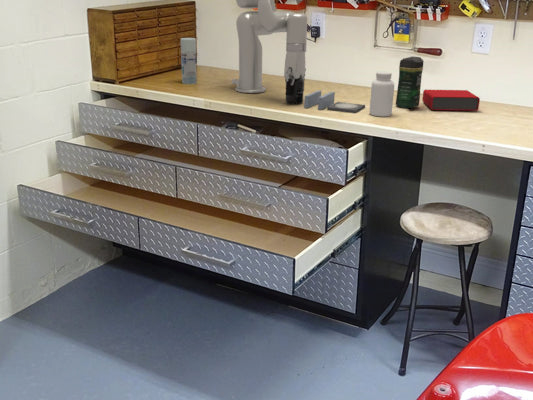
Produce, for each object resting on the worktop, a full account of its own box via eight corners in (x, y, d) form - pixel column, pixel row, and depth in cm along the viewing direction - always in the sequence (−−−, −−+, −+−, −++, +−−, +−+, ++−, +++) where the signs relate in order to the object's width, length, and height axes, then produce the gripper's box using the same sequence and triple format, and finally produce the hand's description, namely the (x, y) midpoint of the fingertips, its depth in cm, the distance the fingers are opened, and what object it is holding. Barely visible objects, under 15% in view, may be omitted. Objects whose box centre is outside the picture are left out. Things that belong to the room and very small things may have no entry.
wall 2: (317, 109, 235) (318, 97, 233) (330, 103, 246) (331, 91, 244) (321, 109, 234) (322, 97, 232) (334, 103, 245) (334, 92, 243)
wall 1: (304, 107, 237) (304, 95, 235) (317, 101, 248) (317, 90, 246) (307, 108, 236) (308, 96, 235) (320, 102, 247) (321, 90, 246)
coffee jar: (412, 109, 236) (417, 59, 230) (392, 107, 241) (396, 57, 234) (422, 105, 244) (427, 56, 237) (402, 102, 248) (407, 54, 242)
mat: (327, 109, 234) (327, 106, 234) (337, 104, 243) (337, 101, 243) (355, 113, 230) (355, 110, 229) (365, 107, 239) (365, 104, 238)
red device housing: (467, 102, 252) (468, 90, 250) (478, 110, 239) (480, 97, 237) (422, 102, 252) (423, 89, 250) (430, 109, 238) (432, 96, 237)
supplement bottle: (301, 105, 242) (302, 73, 237) (284, 104, 243) (284, 72, 239) (304, 101, 248) (305, 70, 244) (287, 100, 249) (287, 69, 245)
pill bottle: (386, 118, 223) (390, 75, 218) (365, 115, 227) (368, 72, 222) (395, 113, 229) (398, 72, 224) (374, 111, 233) (377, 70, 228)
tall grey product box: (180, 84, 278) (178, 38, 271) (194, 83, 281) (192, 37, 274) (184, 87, 273) (183, 39, 266) (199, 86, 276) (197, 39, 269)
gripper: (296, 44, 247) (295, 88, 253) (277, 49, 232) (276, 96, 238) (314, 46, 244) (312, 90, 250) (296, 50, 229) (294, 98, 235)
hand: (294, 93), depth 244 cm, fingers open, 9 cm apart
